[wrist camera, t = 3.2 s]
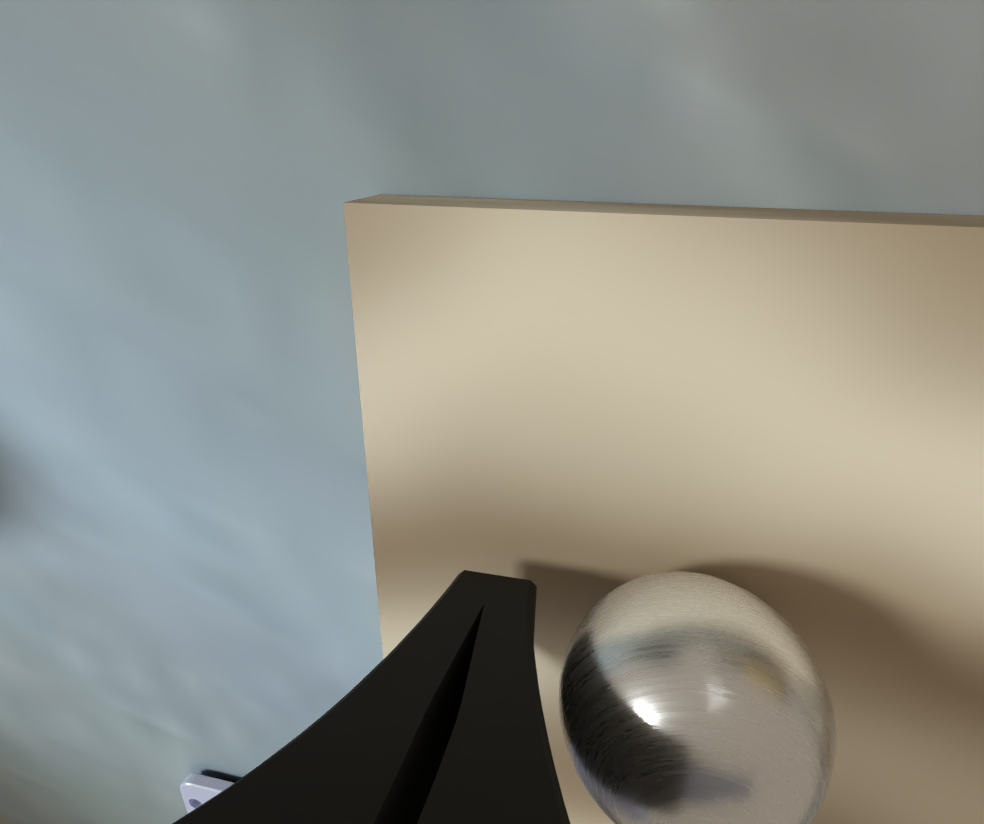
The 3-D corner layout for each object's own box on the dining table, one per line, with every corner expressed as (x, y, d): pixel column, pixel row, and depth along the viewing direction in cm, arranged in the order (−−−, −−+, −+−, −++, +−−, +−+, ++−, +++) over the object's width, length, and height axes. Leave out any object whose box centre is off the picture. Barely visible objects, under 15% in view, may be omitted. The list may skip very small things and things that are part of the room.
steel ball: (770, 709, 11) (833, 965, 8) (563, 670, 12) (535, 889, 9) (822, 540, 10) (930, 770, 6) (579, 508, 10) (550, 696, 7)
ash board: (1423, 946, 12) (1519, 1045, 11) (413, 730, 16) (394, 783, 15) (2312, 263, 6) (2758, 297, 5) (380, 194, 10) (343, 202, 9)
